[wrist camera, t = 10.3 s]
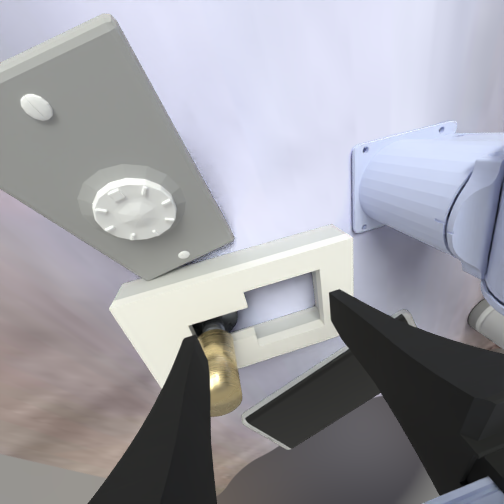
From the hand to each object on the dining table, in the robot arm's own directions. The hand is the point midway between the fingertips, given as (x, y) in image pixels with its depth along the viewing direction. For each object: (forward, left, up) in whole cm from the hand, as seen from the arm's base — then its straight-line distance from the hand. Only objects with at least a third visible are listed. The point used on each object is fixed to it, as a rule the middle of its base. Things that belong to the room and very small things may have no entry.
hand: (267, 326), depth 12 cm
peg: (+4, +6, -10) cm, 13 cm away
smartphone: (-9, +26, -11) cm, 30 cm away
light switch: (+5, -7, -11) cm, 14 cm away
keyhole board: (+1, +6, -10) cm, 12 cm away
